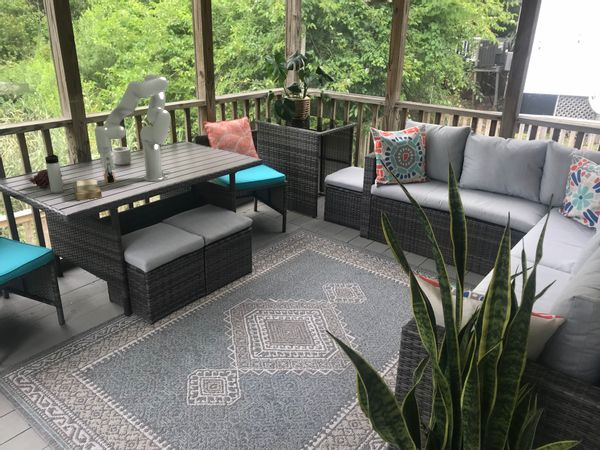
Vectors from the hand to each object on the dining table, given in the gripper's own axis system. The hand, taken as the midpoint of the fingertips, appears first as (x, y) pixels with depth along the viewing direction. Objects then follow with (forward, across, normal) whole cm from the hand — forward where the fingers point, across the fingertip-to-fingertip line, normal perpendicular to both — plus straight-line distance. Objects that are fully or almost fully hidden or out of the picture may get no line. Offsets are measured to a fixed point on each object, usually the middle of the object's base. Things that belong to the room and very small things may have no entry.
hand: (110, 180), depth 271 cm
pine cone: (+4, +17, +31) cm, 35 cm away
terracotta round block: (+1, 0, 0) cm, 1 cm away
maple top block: (0, -9, +13) cm, 16 cm away
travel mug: (+4, +5, +27) cm, 28 cm away
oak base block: (+4, -9, +13) cm, 17 cm away
